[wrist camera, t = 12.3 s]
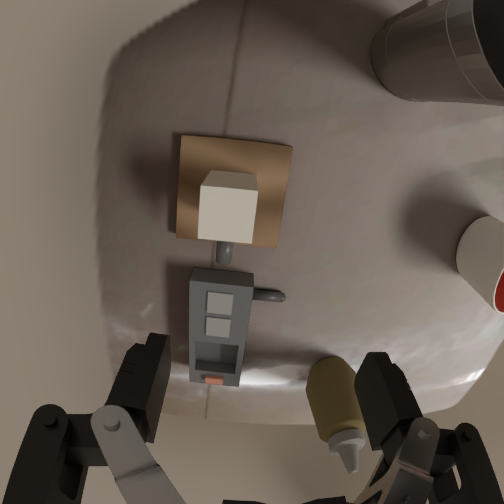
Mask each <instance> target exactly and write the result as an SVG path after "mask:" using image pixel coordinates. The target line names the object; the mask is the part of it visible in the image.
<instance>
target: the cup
mask: <svg viewBox="0 0 504 504" xmlns="http://www.w3.org/2000/svg"><path fill="white" fill-rule="evenodd" d="M456 264H457V268H458V271H459V273H460V275H461V276H462V277H463V278H464V279H465V280H466V281H467V282H468V283H469V284H470V285H471V286H472V287H473V288H474V289H475V290H476V291H477V292H478V293H479V294H480V295H481V296H482V297H483V298H484V299H485V300H486V302H487V303H488V304H489V305H490V306H491V307H492V308H493V309H494V310H495V311H496V312H497V313H500V314H504V223H503V222H501V221H499V220H498V219H496V218H494V217H490V216H486V217H482V218H479V219H477V220H476V221H474V222H473V223H472V224H471V225H470V226H469V227H468V228H467V229H466V230H465V232H464V234H463V235H462V237H461V239H460V242H459V244H458V248H457V253H456Z"/></svg>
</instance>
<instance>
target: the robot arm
mask: <svg viewBox="0 0 504 504" xmlns="http://www.w3.org/2000/svg"><path fill="white" fill-rule="evenodd" d="M371 60H372V64H373V68H374V70H375V72H376V74H377V76H378V78H379V80H380V81H381V82H382V84H383V85H384V86H385V87H386V88H387V89H388V90H389V91H390V92H391V93H393V94H394V95H396V96H397V97H400V98H402V99H404V100H408V101H418V102H428V101H432V102H459V103H474V104H486V105H496V106H504V0H441V1H439V0H422V1H420V2H418V3H416V4H415V5H413V6H411V7H409V8H407V9H405V10H404V11H402V12H400V13H398V14H396V15H395V16H393V17H391V18H389V19H388V20H386V26H385V28H384V29H382V30H381V31H380V32H379V33H378V34H377V35H376V37H375V38H374V40H373V43H372V47H371ZM170 370H171V352H170V337H169V335H164V334H158V333H152V332H151V333H150V334H149V336H148V338H147V341H146V344H145V345H144V344H138V343H136V344H134V345H133V346H132V347H131V348H130V349H129V350H128V351H127V353H126V355H125V357H124V360H123V363H122V364H121V367H120V369H119V372H118V374H117V376H116V379H115V381H114V384H113V386H112V389H111V392H110V394H109V396H108V399H107V401H106V403H105V405H104V406H103V407H101V408H99V409H97V410H96V411H95V412H94V413H91V414H66V412H65V411H64V410H63V409H62V408H61V407H59V406H57V405H54V404H47V405H43V406H41V407H39V408H38V409H37V410H36V411H35V412H34V414H33V417H32V419H31V421H30V424H29V426H28V429H27V431H26V434H25V436H24V439H23V441H22V444H21V447H20V449H19V452H18V455H17V458H16V461H15V463H14V466H13V469H12V472H11V475H10V479H9V482H8V485H7V489H6V492H5V495H4V499H3V503H2V504H81V499H82V494H83V489H84V485H85V480H86V476H87V471H88V467H89V466H109V468H110V470H111V472H112V474H113V475H114V478H115V482H116V484H117V486H118V488H119V490H120V492H121V494H122V496H123V497H124V499H125V501H126V502H127V504H186V503H185V501H184V500H183V498H182V497H181V496H180V494H179V493H178V492H177V490H176V488H175V487H174V486H173V484H172V483H171V481H170V480H169V478H168V477H167V475H166V474H165V472H164V471H163V469H162V468H161V467H160V465H159V464H157V463H156V461H155V460H154V458H153V456H152V455H151V453H150V452H149V450H148V448H147V446H146V444H145V443H146V442H149V443H154V439H155V434H156V430H157V426H158V422H159V417H160V413H161V409H162V405H163V401H164V396H165V392H166V388H167V384H168V380H169V376H170ZM354 389H355V393H356V396H357V399H358V403H359V406H360V409H361V413H362V416H363V419H364V423H365V426H366V430H367V433H368V437H369V440H370V444H371V448H372V451H375V450H382V451H383V455H382V456H381V457H380V459H379V461H378V463H377V465H376V467H375V469H374V471H373V473H372V475H371V477H370V479H369V481H368V483H367V485H366V486H365V488H364V490H363V491H362V493H361V494H360V495H359V496H358V497H357V498H356V500H355V501H354V502H353V503H349V502H346V499H345V496H341V497H333V498H324V499H316V500H313V501H310V502H306V503H303V504H426V501H427V498H428V500H429V504H504V501H503V498H502V494H501V491H500V488H499V485H498V482H497V479H496V476H495V473H494V470H493V467H492V465H491V462H490V459H489V457H488V454H487V452H486V449H485V447H484V444H483V442H482V439H481V437H480V434H479V432H478V430H477V429H476V428H475V427H474V426H473V425H472V424H469V423H461V424H459V425H458V426H457V427H456V428H455V430H448V429H440V428H438V426H437V424H436V423H435V422H434V421H432V420H431V419H428V418H425V417H423V415H422V413H421V411H420V408H419V406H418V404H417V402H416V399H415V397H414V395H413V393H412V390H410V389H411V388H410V386H409V384H408V383H407V379H406V377H405V375H404V373H403V371H402V370H401V369H400V368H399V367H398V366H397V365H396V364H392V362H391V360H390V358H389V356H388V354H387V353H386V352H369V353H367V355H366V357H365V359H364V361H363V363H362V364H361V366H360V368H359V370H358V372H357V374H356V376H355V380H354ZM455 465H456V466H457V469H458V472H459V476H460V479H461V488H460V490H459V489H458V485H457V482H456V478H455V475H454V472H453V469H452V467H453V466H455ZM222 504H265V503H260V502H256V501H237V500H236V501H235V500H223V502H222Z"/></svg>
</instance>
